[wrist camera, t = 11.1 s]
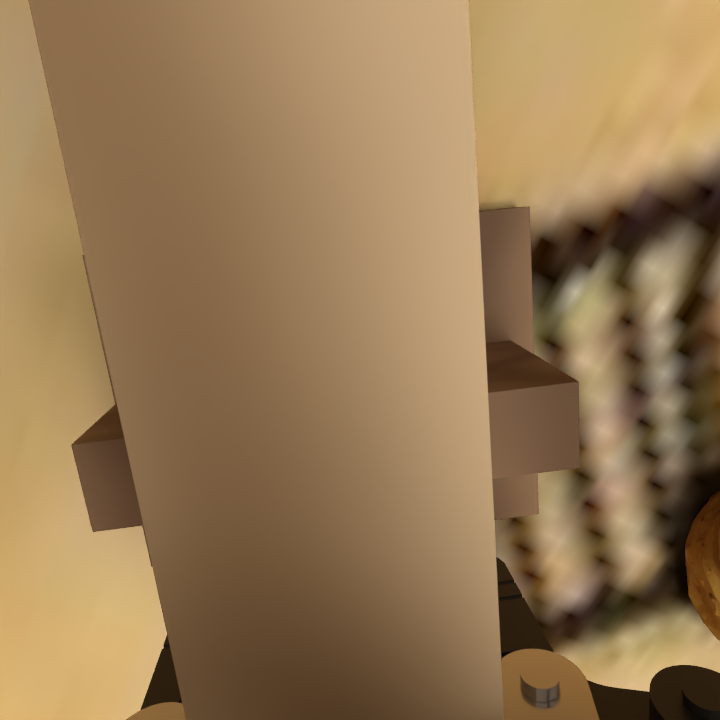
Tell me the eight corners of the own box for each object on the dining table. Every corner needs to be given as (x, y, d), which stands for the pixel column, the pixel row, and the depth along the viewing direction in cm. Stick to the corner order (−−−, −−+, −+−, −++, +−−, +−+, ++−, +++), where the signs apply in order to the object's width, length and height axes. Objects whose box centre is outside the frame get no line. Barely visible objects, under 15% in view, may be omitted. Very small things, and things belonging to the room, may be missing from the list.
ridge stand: (516, 207, 25) (609, 201, 17) (527, 498, 28) (607, 604, 20) (96, 253, 24) (-10, 268, 16) (160, 548, 27) (98, 678, 19)
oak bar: (371, -7, 10) (453, -324, 4) (450, 904, 15) (533, 1321, 10) (170, 10, 10) (-38, -298, 4) (321, 927, 15) (327, 1365, 9)
